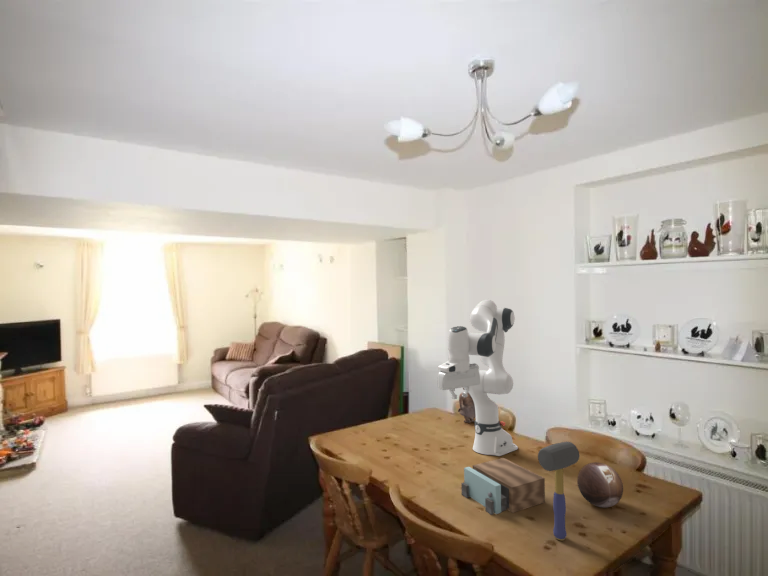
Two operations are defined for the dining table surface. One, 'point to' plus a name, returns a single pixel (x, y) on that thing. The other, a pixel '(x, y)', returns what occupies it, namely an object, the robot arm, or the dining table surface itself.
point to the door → (483, 488)
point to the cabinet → (511, 485)
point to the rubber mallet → (558, 479)
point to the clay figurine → (467, 407)
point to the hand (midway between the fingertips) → (459, 397)
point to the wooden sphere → (600, 484)
